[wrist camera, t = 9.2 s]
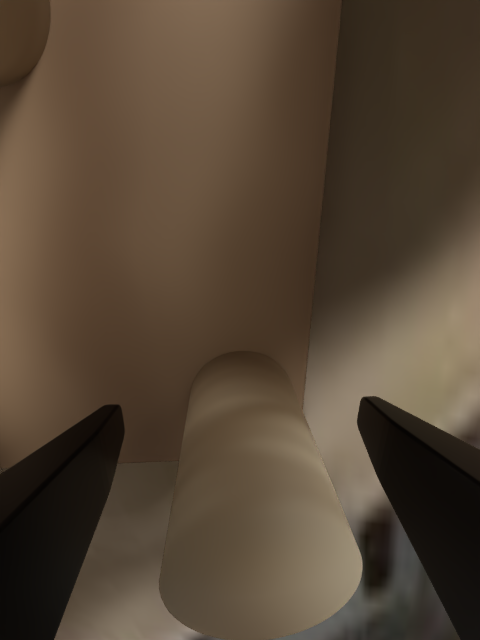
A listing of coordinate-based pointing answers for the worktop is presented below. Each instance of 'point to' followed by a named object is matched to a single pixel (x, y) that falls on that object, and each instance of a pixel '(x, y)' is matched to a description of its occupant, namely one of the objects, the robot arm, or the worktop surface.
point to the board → (158, 208)
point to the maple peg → (253, 511)
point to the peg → (22, 37)
